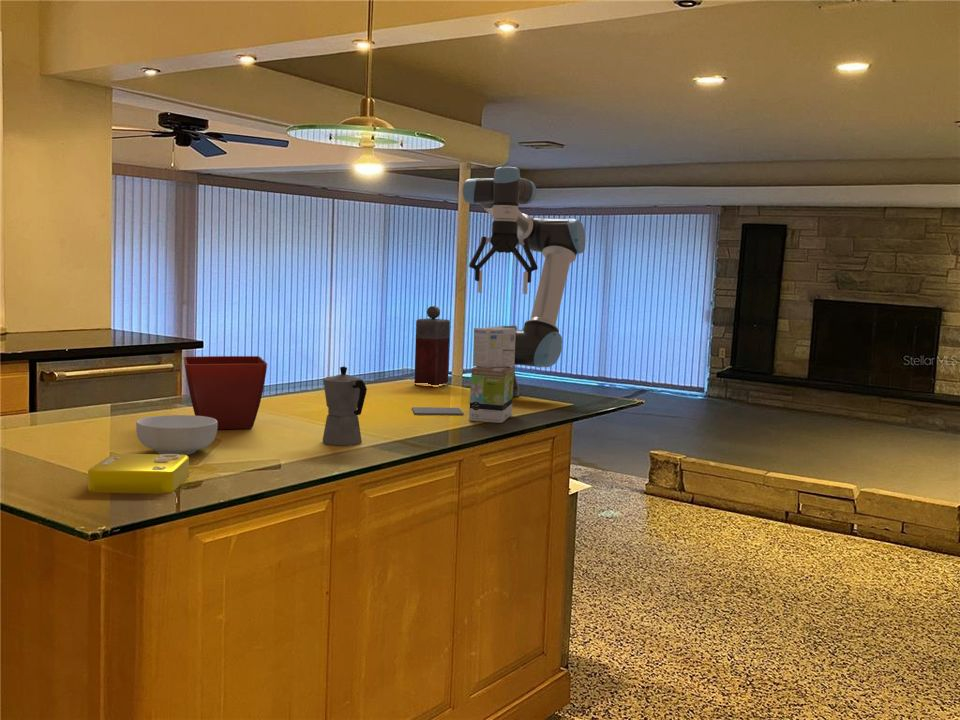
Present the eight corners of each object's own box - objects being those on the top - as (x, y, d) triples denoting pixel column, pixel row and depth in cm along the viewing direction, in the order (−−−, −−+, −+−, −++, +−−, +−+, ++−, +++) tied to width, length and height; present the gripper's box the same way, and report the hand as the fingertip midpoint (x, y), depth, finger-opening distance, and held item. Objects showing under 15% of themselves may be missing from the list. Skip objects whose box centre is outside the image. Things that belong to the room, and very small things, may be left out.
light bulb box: (498, 363, 253) (500, 326, 252) (515, 366, 248) (516, 328, 247) (471, 365, 246) (472, 327, 245) (488, 368, 241) (489, 329, 240)
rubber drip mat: (411, 408, 259) (411, 407, 259) (458, 409, 261) (458, 407, 261) (414, 414, 249) (414, 412, 249) (463, 415, 252) (463, 413, 251)
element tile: (112, 475, 171) (112, 450, 171) (191, 476, 172) (191, 452, 172) (84, 495, 156) (84, 468, 156) (171, 496, 157) (171, 469, 157)
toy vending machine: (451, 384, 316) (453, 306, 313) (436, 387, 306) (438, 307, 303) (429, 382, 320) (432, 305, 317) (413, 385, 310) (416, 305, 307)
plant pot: (183, 419, 229) (183, 355, 227) (258, 418, 236) (259, 355, 234) (185, 433, 211) (185, 364, 209) (267, 431, 218) (267, 363, 216)
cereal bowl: (217, 459, 185) (217, 426, 185) (132, 462, 181) (132, 428, 180) (217, 443, 201) (217, 413, 201) (139, 445, 197) (139, 414, 196)
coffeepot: (309, 439, 209) (310, 364, 207) (342, 435, 215) (344, 362, 214) (346, 451, 198) (348, 371, 196) (380, 446, 204) (382, 369, 202)
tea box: (503, 423, 240) (506, 370, 238) (467, 421, 242) (469, 368, 240) (512, 415, 255) (514, 364, 253) (478, 412, 257) (480, 362, 255)
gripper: (464, 218, 253) (462, 292, 255) (549, 222, 257) (546, 294, 259) (461, 219, 260) (458, 291, 262) (543, 223, 264) (540, 294, 266)
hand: (502, 293), depth 261 cm, fingers open, 13 cm apart
